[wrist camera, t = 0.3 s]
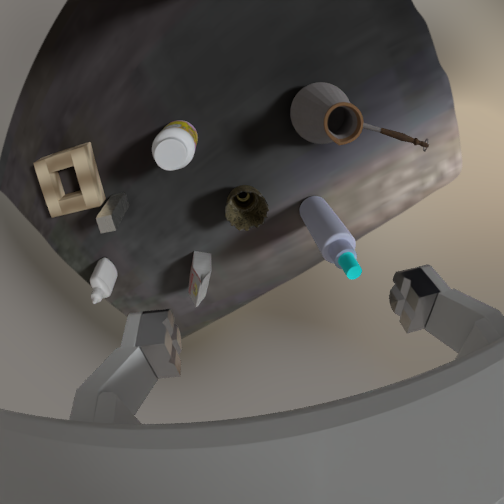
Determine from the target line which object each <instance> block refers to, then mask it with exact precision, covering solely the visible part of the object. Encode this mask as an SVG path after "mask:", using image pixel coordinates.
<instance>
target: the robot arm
mask: <svg viewBox="0 0 504 504" xmlns="http://www.w3.org/2000/svg"><path fill="white" fill-rule="evenodd" d="M393 282H394V283H395V285H394V286H393V287H392V289H391V290H390V295H389V299H390V305H391V308H392V310H393V312H394V313H395V314H397V315H399V316H400V323H401V325H402V326H403V328H404V330H405V331H406V333H410V332H413V331H417V330H421V329H425V330H426V331H427V332H429V333H430V334H432V335H433V336H435V337H436V338H437V339H439V340H440V341H442V342H443V343H444V344H446V345H447V346H449V347H450V348H452V349H453V350H454V351H456V352H457V353H458V355H457V357H456V358H455V360H454V361H452V362H449V363H447V364H444V365H442V366H439V367H437V368H434V369H432V370H429V371H427V372H425V373H422V374H419V375H416V376H414V377H411V378H408V379H406V380H402V381H400V382H396V383H394V384H390V385H387V386H385V387H381V388H378V389H375V390H371V391H368V392H365V393H361V394H358V395H354V396H350V397H347V398H343V399H339V400H335V401H331V402H327V403H323V404H318V405H314V406H309V407H304V408H299V409H295V410H290V411H284V412H278V413H273V414H266V415H259V416H253V417H245V418H237V419H228V420H220V421H208V422H194V423H175V424H141V423H140V422H139V420H138V419H137V418H136V417H135V416H134V415H135V414H136V412H137V411H138V409H139V408H140V406H141V405H142V403H143V401H144V400H145V399H146V397H147V396H148V394H149V393H150V391H151V389H152V388H153V386H154V385H155V383H156V382H157V380H158V378H169V377H178V376H180V375H181V374H180V373H181V360H180V357H179V354H180V352H181V351H182V343H181V335H180V331H179V328H178V326H177V325H176V324H174V315H173V312H172V310H170V309H165V310H154V311H143V312H134V313H130V314H129V315H128V317H127V321H126V326H125V330H124V334H123V338H122V342H121V347H120V348H116V349H115V350H114V351H113V352H112V353H111V354H110V356H108V358H107V359H106V360H105V361H104V362H103V363H102V364H101V365H100V366H99V367H98V368H97V369H96V370H95V371H94V372H93V373H92V375H90V376H89V377H88V378H87V380H86V381H85V382H84V383H83V384H82V385H81V386H80V387H79V388H78V389H77V390H76V394H75V398H74V402H73V407H72V411H71V415H70V420H63V419H55V418H48V417H41V416H35V415H29V414H23V413H18V412H13V411H8V410H4V409H0V504H504V316H503V315H502V314H501V312H500V311H499V310H497V309H495V308H493V307H491V306H489V305H487V304H485V303H483V302H481V301H479V300H477V299H475V298H472V297H471V296H469V295H466V294H464V293H462V292H460V291H458V290H456V289H451V288H450V287H449V286H448V285H447V284H446V283H445V281H444V280H443V279H442V278H441V277H440V275H439V274H438V273H437V272H436V271H435V270H434V269H433V268H432V266H430V265H424V266H419V267H417V268H411V269H407V270H403V271H398V272H396V273H395V275H394V277H393Z"/></svg>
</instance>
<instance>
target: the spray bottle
mask: <svg viewBox="0 0 504 504" xmlns="http://www.w3.org/2000/svg"><path fill="white" fill-rule="evenodd" d="M299 211H300V216H301V218H302V219H303V221H304V223H305V225H306V227H307V228H308V230H309V232H310V234H311V235H312V237H313V239H314V241H315V243H316V245H317V246H318V248H319V250H320V252H321V254H322V256H323V257H324V259H325V260H326V261H328V262H330V263H334V264H335V265H336V266H337V267H338V268H340V269H343V271H344V272H345V274H346V275H347V277H348V278H349V279H356V278H358V277H359V276H360V275H361V273H362V269H361V267H360V266H359V264H358V262H357V261H356V259H357V254H356V252H355V246H356V244H355V239H354V237H353V236H352V235H351V233H350V232H349V231H348V229H347V228H346V227H345V225H344V224H343V223H342V221H341V220H340V219H339V218H338V216H337V215H336V214H335V212H334V211H333V210H332V209H331V207H330V206H329V205H328V204H327V202H326V201H325V200H324V199H323V198H321V197H319V196H311V197H308V198H307V199H305V200H304V201H303V202H302V204H301V206H300V210H299Z"/></svg>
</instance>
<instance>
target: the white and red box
mask: <svg viewBox="0 0 504 504" xmlns="http://www.w3.org/2000/svg"><path fill="white" fill-rule="evenodd" d="M210 274H211V254H210V253H204V252H197V251H194V254H193V260H192V265H191V271H190V277H189V292H188V293H189V295H190V297H191V299H192V300H193V302H194V304H195V308H196V306H197V307H198V305H199V304H200V302H201V301H202V300H203V298H204V297H205V296H206V292H207V288H208V283H209V279H210Z"/></svg>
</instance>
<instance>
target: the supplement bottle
mask: <svg viewBox="0 0 504 504" xmlns="http://www.w3.org/2000/svg"><path fill="white" fill-rule="evenodd" d="M197 139H198V136H197V132H196V130H195V128H194V127H193V126H192V125H191V124H190V123H188V122H186V121H183V120H177V121H173V122H171V123H169V124H168V125H166V126H165V127H164V128H163V130H162V131H161V132H160V133H159V134H158V135H157V136H156V138H155V139H154V141H153V144H152V154H153V157H154V159H155V161H156V163H157V164H158V166H159V167H161V168H162V169H165V170H177V169H180V168H183V167H185V166H186V165H187V164H188V163H189V162H190V161H191V160H192V158H193V156H194V153H195V149H196V145H197Z"/></svg>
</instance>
